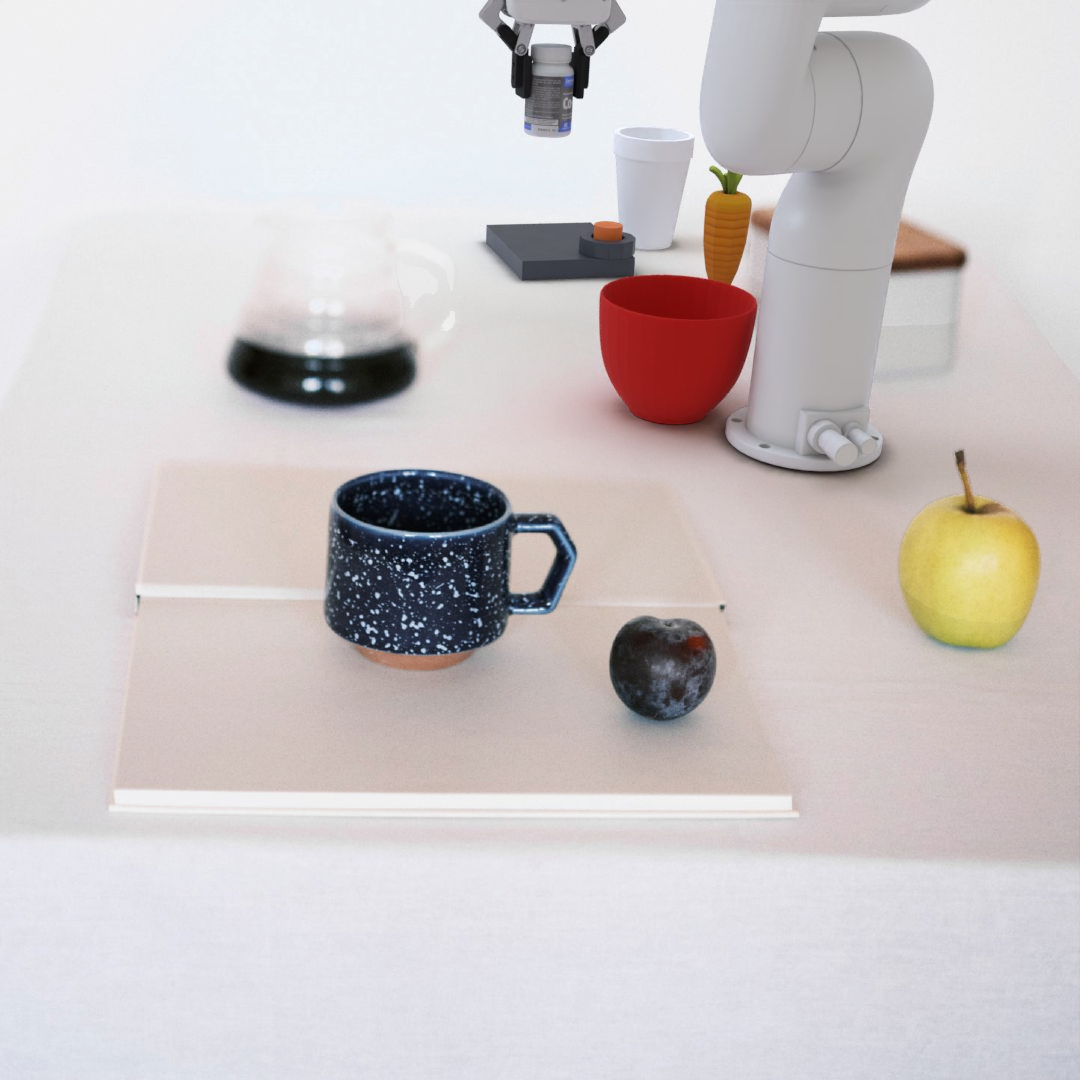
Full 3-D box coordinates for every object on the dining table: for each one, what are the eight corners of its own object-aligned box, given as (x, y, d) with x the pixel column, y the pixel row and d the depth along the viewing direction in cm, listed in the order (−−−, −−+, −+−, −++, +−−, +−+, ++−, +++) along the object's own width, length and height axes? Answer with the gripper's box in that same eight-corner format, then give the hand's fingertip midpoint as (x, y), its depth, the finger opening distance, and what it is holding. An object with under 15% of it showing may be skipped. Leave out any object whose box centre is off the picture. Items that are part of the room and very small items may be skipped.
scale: (639, 278, 153) (642, 242, 152) (523, 282, 150) (524, 246, 148) (593, 240, 168) (596, 207, 166) (485, 243, 164) (486, 209, 162)
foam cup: (593, 235, 169) (601, 127, 164) (659, 231, 173) (668, 124, 167) (630, 255, 162) (639, 142, 156) (698, 250, 165) (709, 140, 160)
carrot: (726, 308, 145) (742, 163, 138) (686, 298, 147) (700, 155, 141) (750, 298, 148) (767, 157, 142) (710, 289, 151) (725, 149, 144)
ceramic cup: (784, 392, 123) (799, 283, 118) (705, 452, 109) (718, 331, 105) (654, 362, 128) (663, 256, 124) (564, 415, 115) (571, 299, 111)
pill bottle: (571, 139, 135) (576, 49, 131) (523, 137, 135) (526, 47, 131) (570, 130, 139) (575, 43, 136) (524, 128, 139) (527, 40, 135)
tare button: (625, 243, 153) (627, 227, 152) (598, 244, 152) (599, 228, 151) (616, 236, 155) (617, 220, 155) (589, 236, 155) (590, 221, 154)
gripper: (480, -110, 122) (474, 103, 130) (659, -102, 126) (643, 103, 135) (460, -114, 128) (456, 89, 136) (631, -106, 133) (617, 90, 141)
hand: (549, 94), depth 135 cm, fingers closed on pill bottle, 4 cm apart
